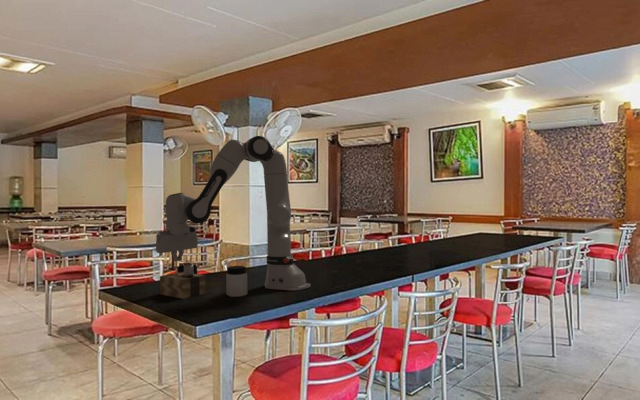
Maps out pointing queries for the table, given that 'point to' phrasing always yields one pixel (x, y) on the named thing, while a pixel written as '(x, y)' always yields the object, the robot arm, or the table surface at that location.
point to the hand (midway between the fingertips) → (177, 260)
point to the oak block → (182, 285)
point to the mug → (181, 269)
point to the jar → (236, 281)
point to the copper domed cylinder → (188, 270)
